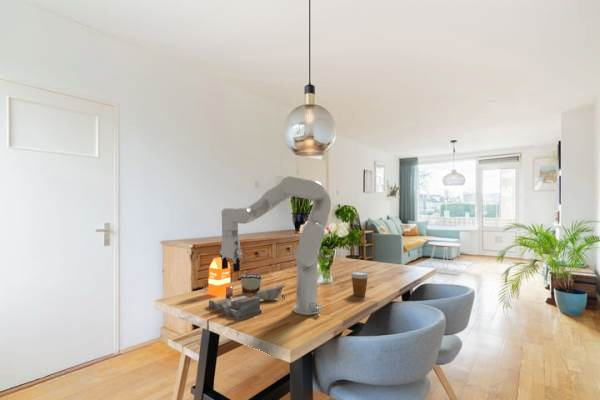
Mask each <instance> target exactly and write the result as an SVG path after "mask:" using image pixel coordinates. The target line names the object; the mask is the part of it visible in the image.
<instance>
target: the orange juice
mask: <svg viewBox="0 0 600 400" xmlns="http://www.w3.org/2000/svg"><path fill="white" fill-rule="evenodd" d="M226 286H231V265H230V262H228V268H227V269H222V261H221V257H220V256H219V257H214V258H213V259H212V261H211V263H210V265H209V266H208V295H211V296H213V297H217V298H218V297H222V296H226Z"/></svg>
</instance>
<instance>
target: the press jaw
mask: <svg viewBox="0 0 600 400" xmlns="http://www.w3.org/2000/svg"><path fill="white" fill-rule="evenodd" d="M233 288H234V287H233V285H230V286H226V294H225V299H227V307H229V308H231V309H234V310H235V309H238V308H239V301H242V300H245V299H249V297H248V296H247V295H246V296H245V295H242V296H236V297H237V298H232V297H233V296H234V294H233V290H234V289H233Z"/></svg>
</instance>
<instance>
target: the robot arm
mask: <svg viewBox="0 0 600 400" xmlns="http://www.w3.org/2000/svg"><path fill="white" fill-rule="evenodd" d="M293 197H295V198H302V199H306V200H311V201H312V207H311V210H310V213H309V217H308V220H307V223H306V224H305V225H304V227H303V229H302V231H301V234H300V236H299V237H300V238H299V241H298V244H297V246H296V247H297V248H296V250H295V253H294V258H295V262H296V295H295V296H296V297H295V298H296V299H295V300H296V305H294V306H292V311H293V312H294V314H297V315H302V316H313V315H317V314H319V313H321V311H322V309H323V306H322V305H319V301H317V300H318V297H317V296H318V290H317V289H318V255H319V251H320V249H321V246H322V243H323V240H324V237H325V228H326V225H327V224H328V223H327V222H328V219H329V215H330V212H331V206H332V201H331V196H330V194H329V192H328V190H327V189H326V188H325V187H324V185H323V184H322V183H321V182H319V181H317V180H311V179H306V178H300V177H295V176H289V175H288V176H285V177H284V178H283V179H282V180H281V181H280V183H278V184H276V185H275V186H273V187H271V188H270V189H268V190H267V191H265V192H264V193H263V194H262V196H261V197H260V198H259V199H258V200H257V201H255V202H254V203H253V204H251V205H249V206H245V207H240V208H239V207H237V208H235V207H231V208H229V207H228V208H227V207H226V208H222V210H221V246H220V247H221V249H220V250H219V251H218V252H219V257H221V261H222V269H227V268H228V263H229V260H228V259H232V261H233V263H232V266H233V269H232V271H233V273H237V272H240V269H241V268H240V267H241V264H240V263H241V261H242V258H243V257H242V256H243V253H242V252H241V243H240V242H241V241H240V237H239V224H243V225H244V224H249V223H252V222H254V221H256V220H258V219H259V218H261V217H262V216H263V215H265V214H267V213H268V212H270V211H272V210H274V209H275V208H278V206H281V204H283V203H284V202H287V201H289V199H291V198H293Z"/></svg>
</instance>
